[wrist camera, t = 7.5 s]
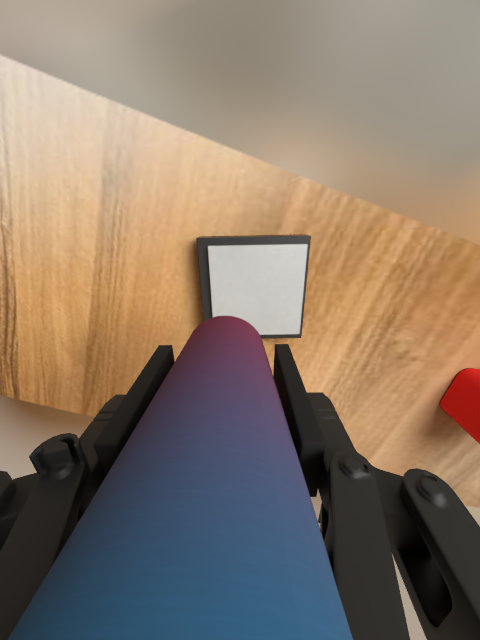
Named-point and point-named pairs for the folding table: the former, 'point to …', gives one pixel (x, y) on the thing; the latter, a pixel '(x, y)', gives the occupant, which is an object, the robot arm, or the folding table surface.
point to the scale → (256, 280)
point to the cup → (198, 518)
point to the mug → (465, 401)
